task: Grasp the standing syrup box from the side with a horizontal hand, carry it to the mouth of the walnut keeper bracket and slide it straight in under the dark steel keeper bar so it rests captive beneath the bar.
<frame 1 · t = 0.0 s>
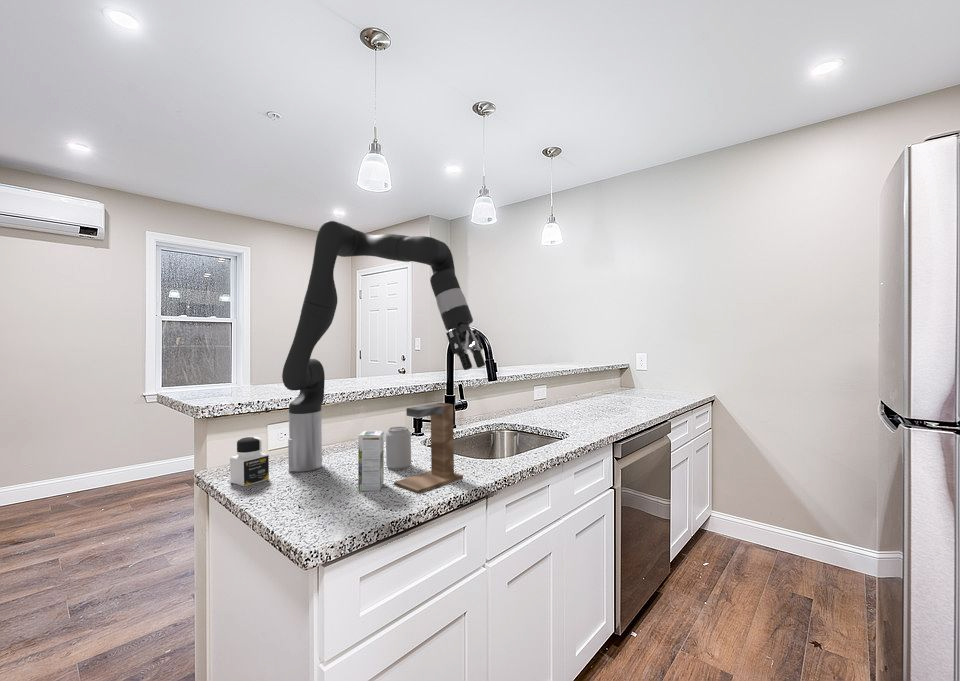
hand: (475, 367, 110), 31 cm above the worktop, tool tilted 20°, fingers open, 8 cm apart
syrup box: (371, 488, 114), on the worktop
keeper bracket: (425, 482, 117), on the worktop
can: (398, 467, 132), on the worktop
medicine bottle: (249, 481, 120), on the worktop
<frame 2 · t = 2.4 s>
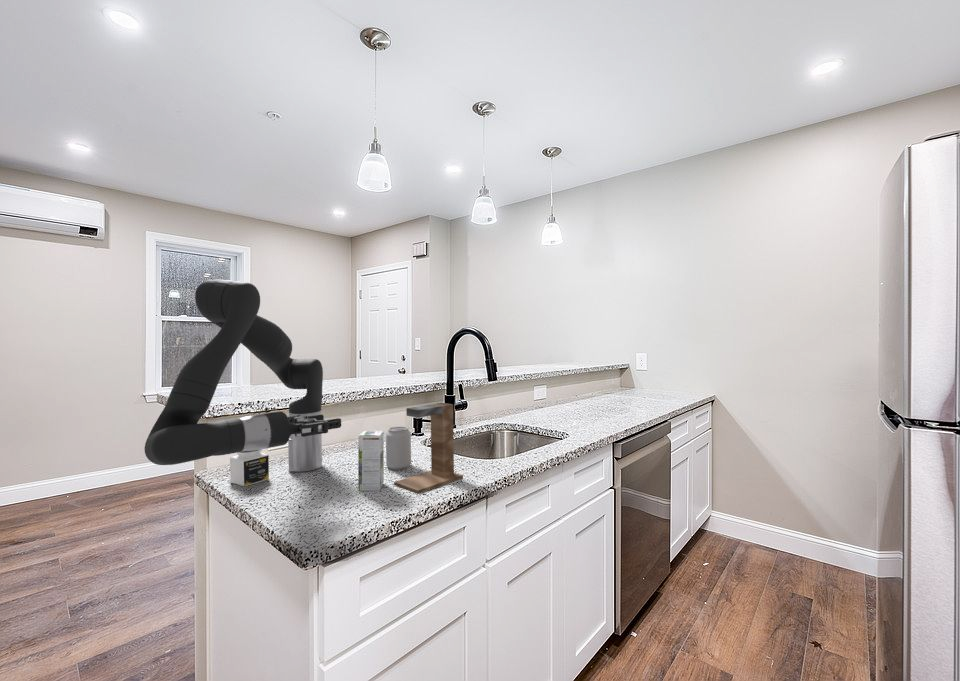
hand: (331, 420, 105), 19 cm above the worktop, tool horizontal, fingers open, 8 cm apart
nothing on the worktop moved.
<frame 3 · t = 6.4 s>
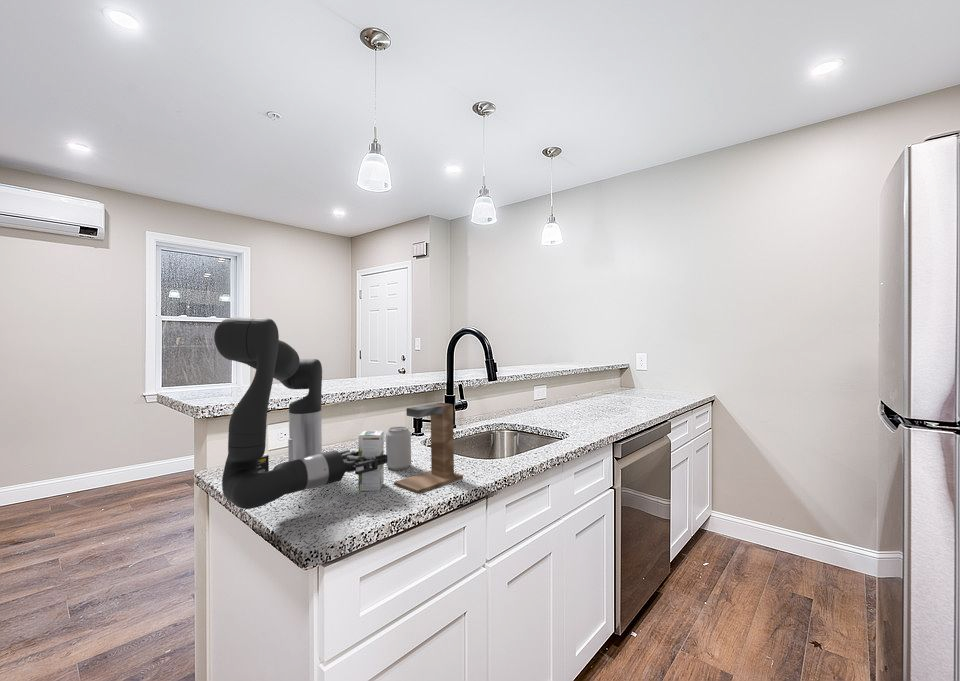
hand: (377, 455, 115), 8 cm above the worktop, tool horizontal, fingers closed on syrup box, 8 cm apart
syrup box: (371, 488, 114), on the worktop, touching gripper
everything else where it was.
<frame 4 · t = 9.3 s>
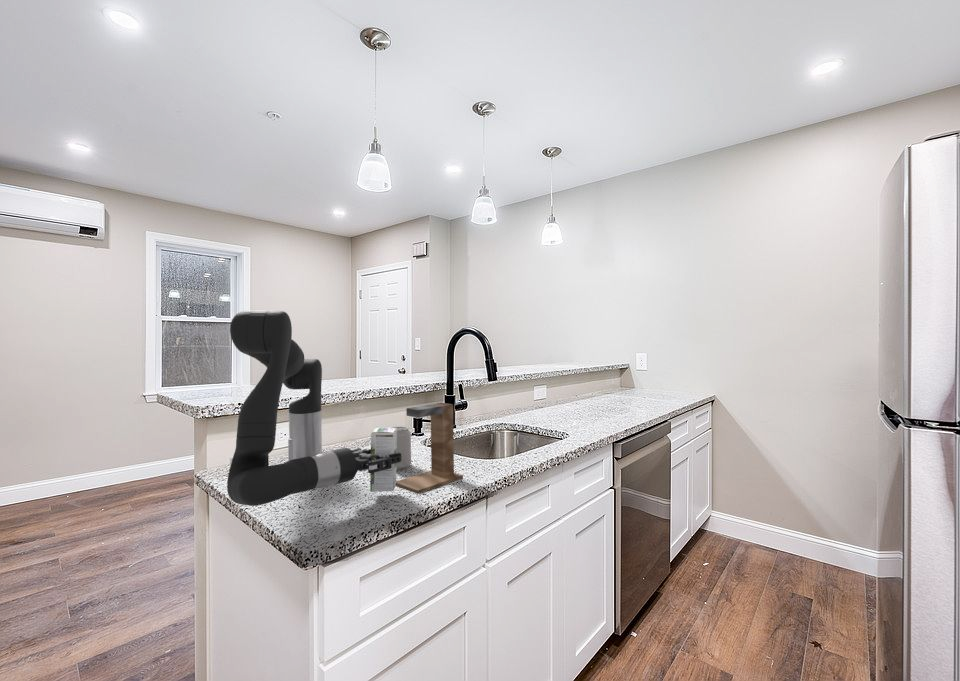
hand: (390, 454, 109), 10 cm above the worktop, tool horizontal, fingers closed on syrup box, 8 cm apart
syrup box: (384, 488, 107), point 2 cm above the worktop, touching gripper
everything else where it was.
when the fingers open (10 cm above the worktop, at t = 12.6 s): syrup box stays where it is, resting on keeper bracket.
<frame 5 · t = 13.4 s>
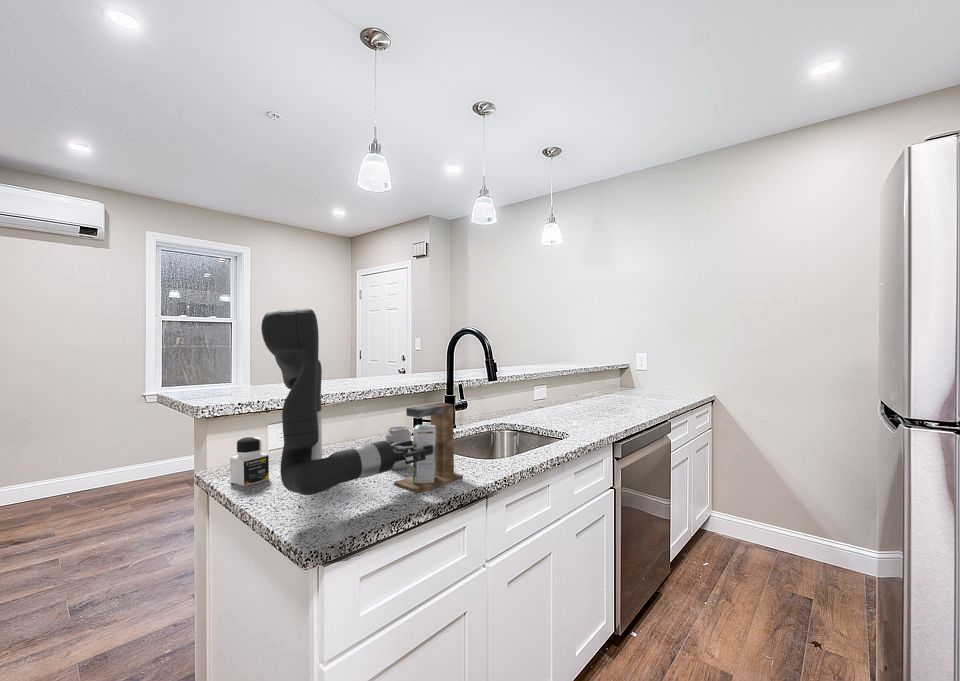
hand: (422, 446, 116), 10 cm above the worktop, tool horizontal, fingers open, 8 cm apart
syrup box: (424, 480, 117), point 1 cm above the worktop, touching keeper bracket
everything else where it was.
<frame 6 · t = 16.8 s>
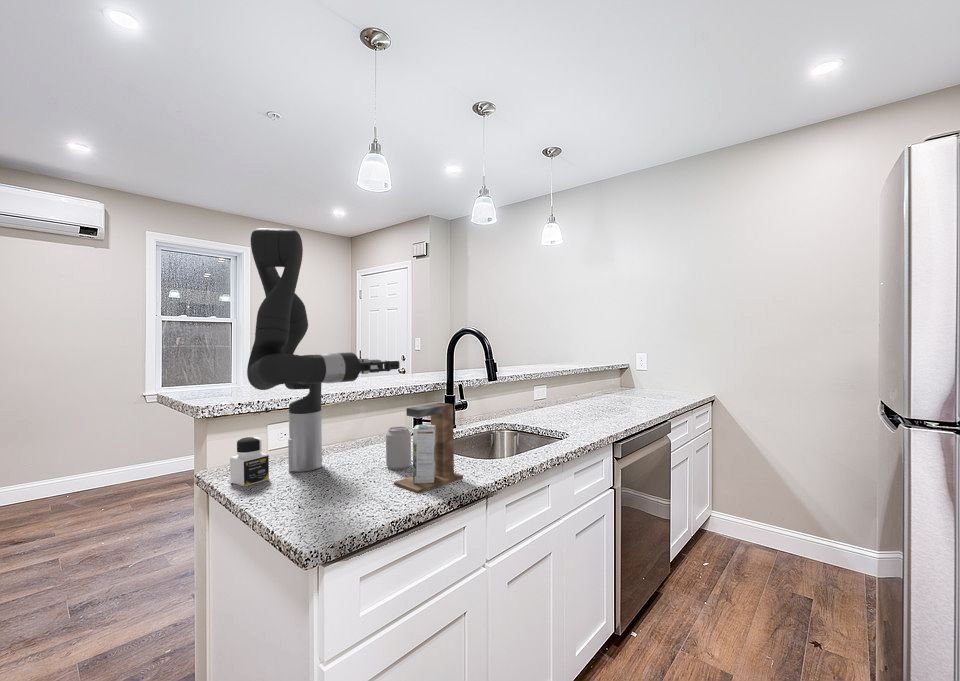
hand: (389, 364, 121), 32 cm above the worktop, tool horizontal, fingers open, 8 cm apart
nothing on the worktop moved.
at the end: syrup box inside the target area on the keeper bracket (0.3 cm from its centre), point 0.6 cm above the keeper bracket's base; syrup box tilted 0°; the gripper is holding nothing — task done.
